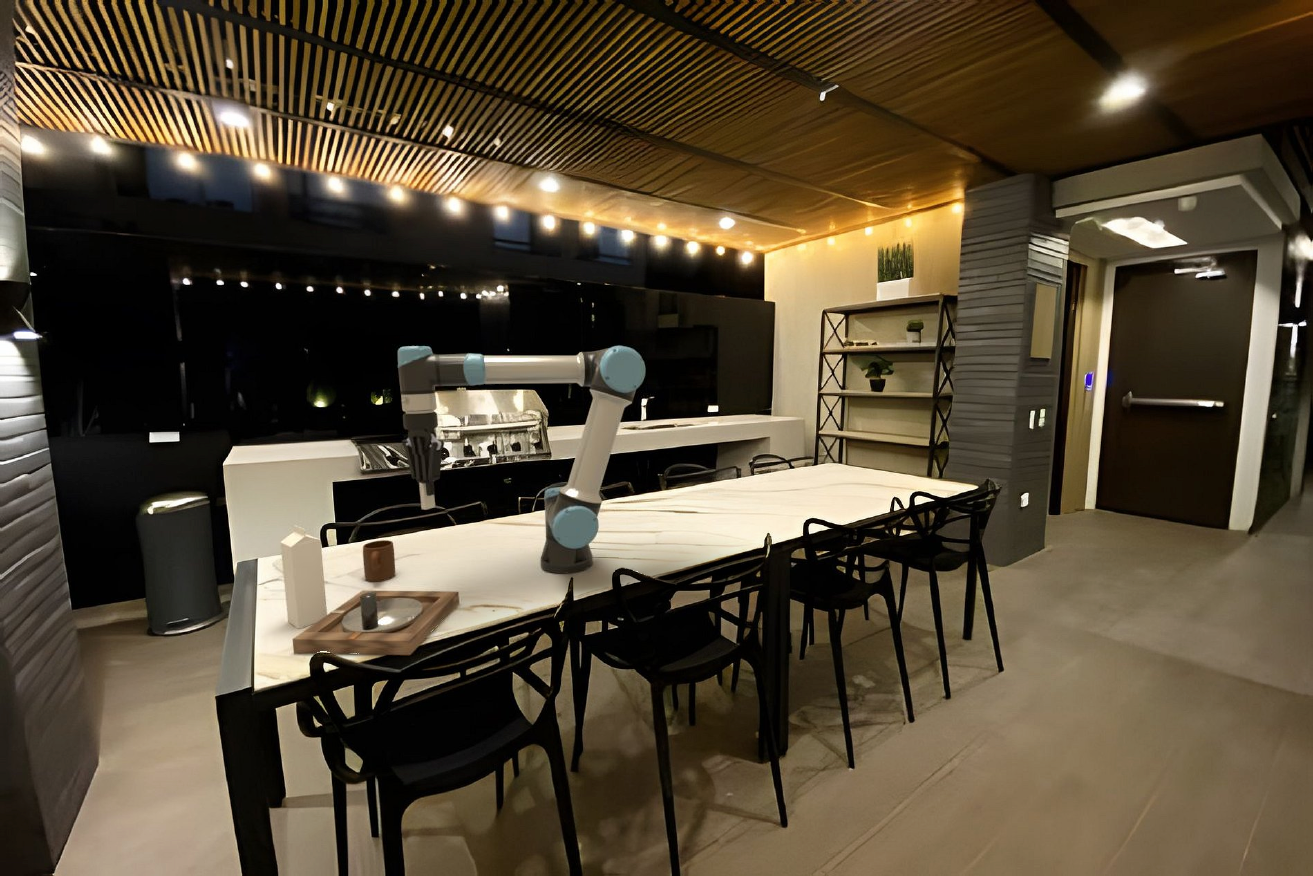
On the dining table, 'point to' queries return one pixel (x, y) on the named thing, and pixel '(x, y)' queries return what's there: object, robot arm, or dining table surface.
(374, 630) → the dial
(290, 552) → the milk
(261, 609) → the dining table surface
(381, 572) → the mug
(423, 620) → the board
